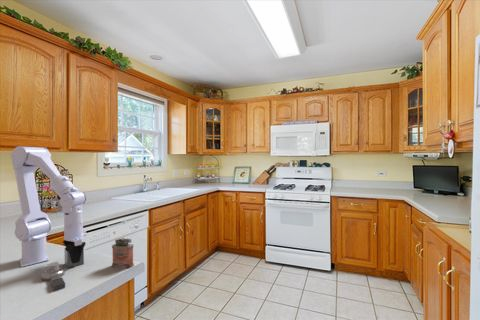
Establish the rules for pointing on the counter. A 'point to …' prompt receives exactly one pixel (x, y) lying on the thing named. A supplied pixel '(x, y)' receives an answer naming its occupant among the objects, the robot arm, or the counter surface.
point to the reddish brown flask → (122, 253)
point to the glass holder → (58, 204)
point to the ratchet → (54, 276)
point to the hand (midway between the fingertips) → (74, 260)
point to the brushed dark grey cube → (68, 259)
